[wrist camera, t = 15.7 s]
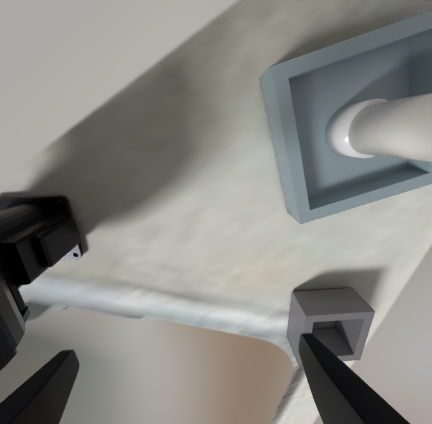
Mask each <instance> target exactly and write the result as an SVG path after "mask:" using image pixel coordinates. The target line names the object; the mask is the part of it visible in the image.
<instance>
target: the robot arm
mask: <svg viewBox="0 0 432 424" xmlns="http://www.w3.org/2000/svg"><path fill="white" fill-rule="evenodd" d="M59 199H60V200H62V203H61V202H60V201H59ZM76 253H77V254H78V255H77V254H76ZM82 255H83V251H82V247H81V244H80V238H79V234H78V231H77V227H76V224H75V220H74V218H73V216H72V213H71V209H70V206H69V202H68V200H67V198H66V197H65V196H62V195H56V196H32V197H8V198H0V371H1V370H2V369H3V368H4V367H5V366H6V365H7V364H8V363H9V362H10V360H11V359H12V358H13V357H14V356H15V355H16V353H17V349H16V347H17V346H18V344H19V342H20V340H21V338H22V336H23V335H24V331H25V322H26V320H27V318H28V316H29V314H30V310H29V308H28V306H26V305H25V303H24V301H23V299H22V297H21V294H20V292H19V290H18V289H19V288H20V287H21V286H22V285H28V284H30V283H31V282H33V281H34V280H35V279H36V278H37V277H38V276H40V275H41V274H42V273H43V272H44V271H45V270H47V269H48V268H49V267H52V266H54V265H55V264H56V263H57V262H58V261H59V260H72V259H79V258H81V257H82ZM298 350H299V355H300V358H301V361H302V364H303V367H304V371H305V374H306V377H307V380H308V383H309V386H310V390H311V393H312V396H313V399H314V401H315V404H316V406H317V409H318V411H319V414H320V416H321V419H322V421H323V423H324V424H410V423H409V422H408V421H407V420H405V419H404V418H403V417H402V416H401V415H400V414H399V413H398V412H397V411H396V410H395V409H393V408H392V407H391V406H390V405H389V404H388V403H387V402H386V401H385V400H384V399H383V398H382V397H380V396H379V395H378V394H377V393H376V392H375V391H374V390H373V389H372V388H371V387H369V386H368V385H367V384H366V383H365V382H364V381H363V380H362V379H361V378H360V377H359V376H358V375H357V374H356V373H354V372H353V371H352V370H351V369H350V368H349V367H348V366H347V365H346V364H345V363H344V362H343V361H341V360H340V359H339V358H338V357H337V356H336V355H335V354H334V353H333V352H332V351H331V350H329V349H328V348H327V347H326V346H325V345H324V344H323V343H322V342H321V341H320V340H319V339H318V338H316V337H315V336H314V335H313V334H312V333H301V334H300V339H299V346H298ZM78 370H79V361H78V358H77V356H76V353H75V351H74V350H63V351H61V352H59V353H58V354H57V355H56V356H55V357H54V358H52V359H51V360H50V361H49V362H48V363H46V364H45V365H44V366H43V367H42V368H41V369H39V370H38V371H37V372H36V373H35V374H34V375H33V376H31V377H30V378H29V379H28V380H27V381H26V382H24V383H23V384H22V385H21V386H20V387H19V388H17V389H16V390H15V391H14V392H13V393H12V394H11V395H9V396H8V397H7V398H6V399H5V400H4V401H2V402H1V403H0V424H59V422H60V420H61V417H62V415H63V412H64V409H65V406H66V404H67V401H68V398H69V395H70V393H71V390H72V387H73V384H74V381H75V379H76V376H77V373H78Z"/></svg>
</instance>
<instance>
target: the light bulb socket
mask: <svg viewBox="0 0 432 424" xmlns="http://www.w3.org/2000/svg"><path fill="white" fill-rule="evenodd" d="M374 313H375V311H374V310H373V309H372V308H371V307H370V306H369V305H368V304H367V303H366V302H365V301H364V300H363V299H362V297H361V296H360V295H359V294H358V293H357V292H356V291H355V290H354V289H353V288H341V289H325V290H310V291H294V292H292V297H291V305H290V313H289V321H288V329H287V339H288V341H289V344H290V346H291V348H292V351H293V353H294V356H295V358H296V360H297V363H298V365H301V364H302V361H301V358H300V355H299V350H298V346H299V339H300V334H301V333H312V334H313V335H314V336H315V337H316V338H318V339H319V340H320V341H321V342H322V343H323V344H324V345H325V346H326V347H327V348H328V349H329V350H331V351H332V352H333V353H334V354H335V355H336V356H337V357H338V358H339V359H340V360H341V361H351V360H360V358H361V355H362V352H363V348H364V345H365V342H366V339H367V336H368V332H369V329H370V326H371V323H372V319H373V316H374ZM324 321H337V323H336V328H327V329H313V330H312V328H313V323H314V322H324Z"/></svg>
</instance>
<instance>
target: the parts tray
mask: <svg viewBox="0 0 432 424" xmlns="http://www.w3.org/2000/svg"><path fill="white" fill-rule="evenodd" d="M260 83H261V88H262V92H263V97H264V102H265V107H266V112H267V117H268V122H269V126H270V131H271V136H272V141H273V146H274V151H275V155H276V160H277V165H278V170H279V175H280V180H281V184H282V189H283V194H284V199H285V204H286V209H287V212H288V213H289V214H290V215H291V216H292V217H293V218H294V219H295V220H296V221H297V222H299V223H300V224H303V223H306V222H309V221H312V220H316V219H319V218H322V217H325V216H329V215H332V214H335V213H338V212H342V211H345V210H348V209H351V208H355V207H358V206H361V205H364V204H368V203H371V202H374V201H377V200H381V199H384V198H387V197H390V196H394V195H397V194H400V193H403V192H407V191H410V190H413V189H416V188H420V187H423V186H426V185H429V184H432V162H427V161H419V160H410V159H401V158H393V157H384V156H374V157H371V158H357V157H350V156H343V155H338V154H335V153H333V152H332V151H331V150H330V149H329V148H328V146H327V144H326V140H325V130H326V126H327V123H328V121H329V119H330V118H331V116H332V115H333V114H334V113H335V112H336V111H337V110H338V109H340V108H341V107H343V106H345V105H349V104H353V103H358V102H362V101H367V100H372V99H385V100H387V101H391V100H397V99H402V98H407V97H413V96H418V95H424V94H429V93H432V10H429V11H426V12H423V13H420V14H418V15H415V16H412V17H409V18H406V19H404V20H401V21H398V22H395V23H392V24H389V25H387V26H384V27H381V28H378V29H375V30H372V31H370V32H367V33H364V34H361V35H358V36H355V37H353V38H350V39H347V40H344V41H341V42H338V43H336V44H333V45H330V46H327V47H324V48H321V49H319V50H316V51H313V52H310V53H307V54H304V55H302V56H299V57H296V58H293V59H290V60H288V61H285V62H282V63H279V64H276V65H273V66H271V67H270V68H269V69H268V70H267V71H266V72H265V73H264V74H263V75H262V76H261V77H260Z"/></svg>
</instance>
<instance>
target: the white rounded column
mask: <svg viewBox="0 0 432 424" xmlns="http://www.w3.org/2000/svg"><path fill="white" fill-rule="evenodd" d="M325 140H326V144H327V146H328V148H329V149H330V150H331V151H332V152H333V153H335V154H338V155H343V156H350V157H357V158H371V157H374V156H384V157H393V158H401V159H410V160H419V161H427V162H432V93H429V94H424V95H418V96H413V97H407V98H402V99H397V100H391V101H387V100H385V99H372V100H367V101H362V102H358V103H353V104H349V105H345V106H343V107H341V108H340V109H338V110H337V111H336V112H335V113H334V114H333V115H332V116H331V118H330V119H329V121H328V123H327V126H326V130H325Z"/></svg>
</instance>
